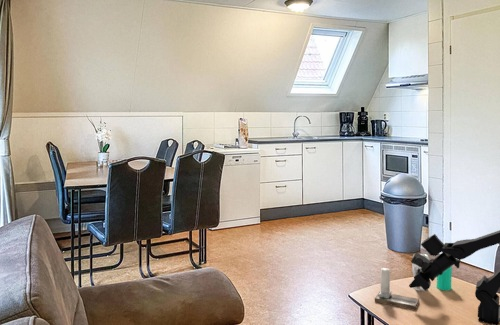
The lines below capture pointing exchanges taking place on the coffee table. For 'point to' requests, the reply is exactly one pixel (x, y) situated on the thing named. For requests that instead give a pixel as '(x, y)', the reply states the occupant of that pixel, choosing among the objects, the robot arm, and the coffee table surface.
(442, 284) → the candle
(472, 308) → the coffee table surface
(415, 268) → the beer glass
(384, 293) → the tuning slider
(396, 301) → the board
